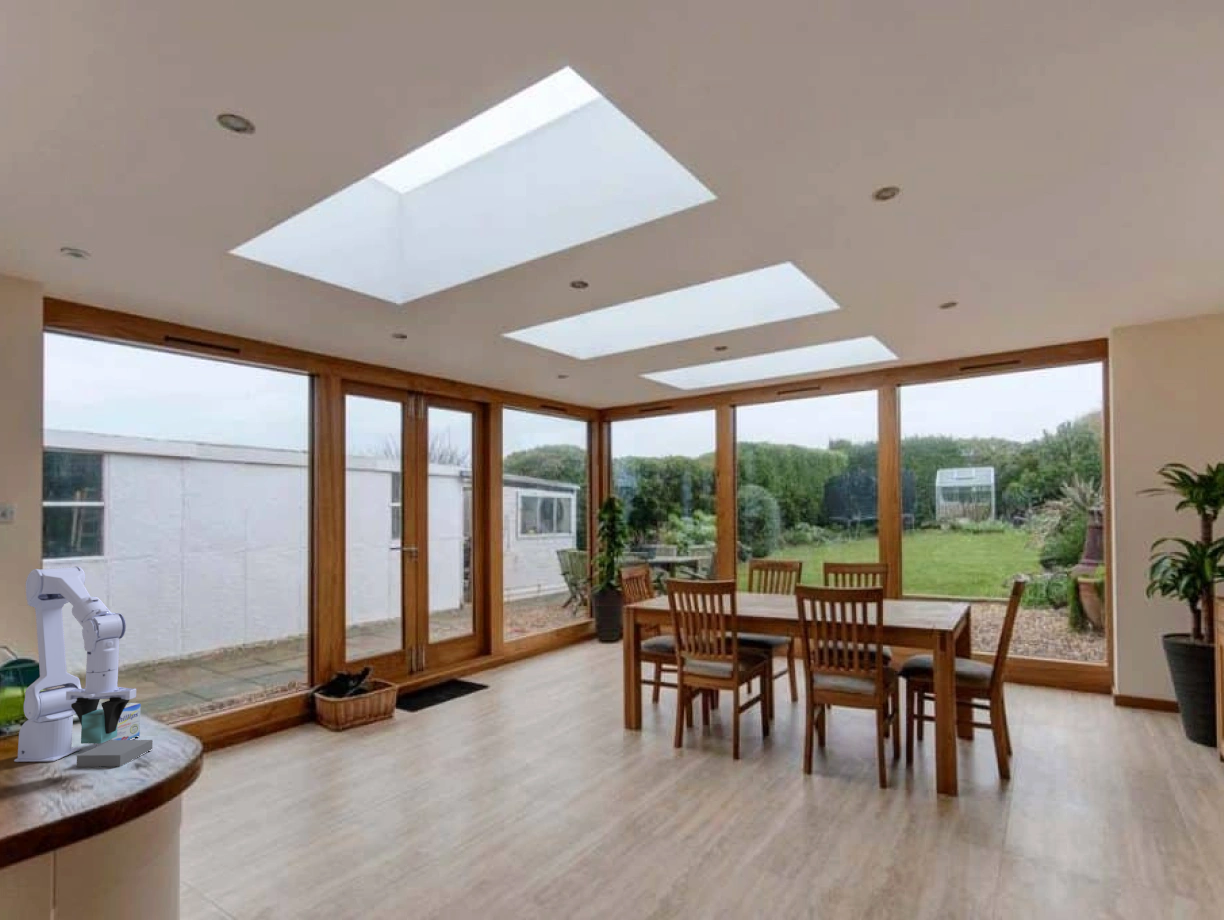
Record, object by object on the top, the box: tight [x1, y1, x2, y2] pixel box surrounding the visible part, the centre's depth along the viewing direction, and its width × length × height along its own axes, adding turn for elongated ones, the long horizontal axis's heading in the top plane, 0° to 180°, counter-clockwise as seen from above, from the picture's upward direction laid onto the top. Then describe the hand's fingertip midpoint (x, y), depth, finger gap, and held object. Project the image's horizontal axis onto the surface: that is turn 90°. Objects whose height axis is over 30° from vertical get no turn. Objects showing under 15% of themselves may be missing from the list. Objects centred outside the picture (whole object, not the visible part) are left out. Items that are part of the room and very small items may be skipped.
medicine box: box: [96, 702, 142, 747], centre depth 164 cm, size 8×4×9 cm, turn 168°
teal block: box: [80, 708, 117, 745], centre depth 146 cm, size 4×4×6 cm
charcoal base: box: [76, 739, 153, 768], centre depth 153 cm, size 10×10×2 cm
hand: (99, 732), depth 146 cm, fingers closed on teal block, 4 cm apart
